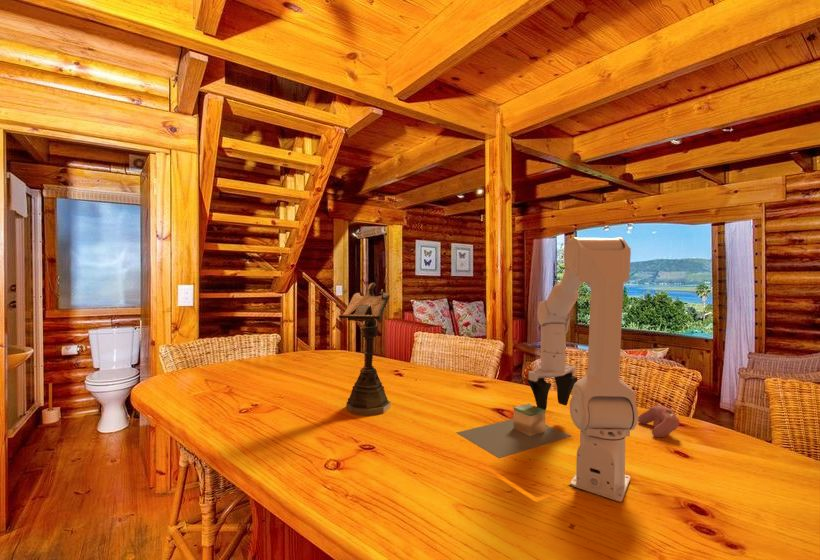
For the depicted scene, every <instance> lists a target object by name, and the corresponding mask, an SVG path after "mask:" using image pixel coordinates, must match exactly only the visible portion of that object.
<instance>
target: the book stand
mask: <svg viewBox="0 0 820 560" xmlns="http://www.w3.org/2000/svg"><path fill="white" fill-rule="evenodd" d="M375 286H376V282H371V283H369V284H368V287H367V295H362V294H361V293H360V292H356V293H354V294H353V295H352V297H351V299H350V302H349V303H348V305H347V307H346V309H345V311H344V312H343V314H339V315H338V318H339V319H338V320H337V321H336V322H337V323H339V321H340V320H342V319H347V322H349V321H353V322H362V323H361V324H362V325H361V326H359V330H360V336H361V337H362V338H363V340H364V352H363V353H362V354H363V355H364V365H363V367H362V368H361V369H360V370H359V375H358V378H357V379H356V381H355V382H354V385H353V386H352V388H351V393H350V395H349V398H347V401H346V403H345V405H346V409H347V410H348V411H349V413H350V414H352V415H353V414H354V415H361V416H367V417H369V416H375V415H380V414H381V415H383V414H384V413H386V412H387V411H388V410H389V409H390V408H391V400H388V396H387V394H386V392H385V386H384V385H383V383H382V381H381V379H380V378H379V374H378V371H377V369H376V368H375V366H373V359H374V354H375V352H374V340H375V338H376V337H377V336H378V330H379V326H378V325H377V322H379V324H381V323H382V321H383V320H382V319H383V314H384V311H385V308H386V306H387V304H388V301H389V300H390V297H391V295H390V294H389V293H386V292H384V289H383V288H382V289H381V290H380V292H379V294H380V295H378V296H375V294H374V289H375ZM352 313H353V314H352Z"/></svg>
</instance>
